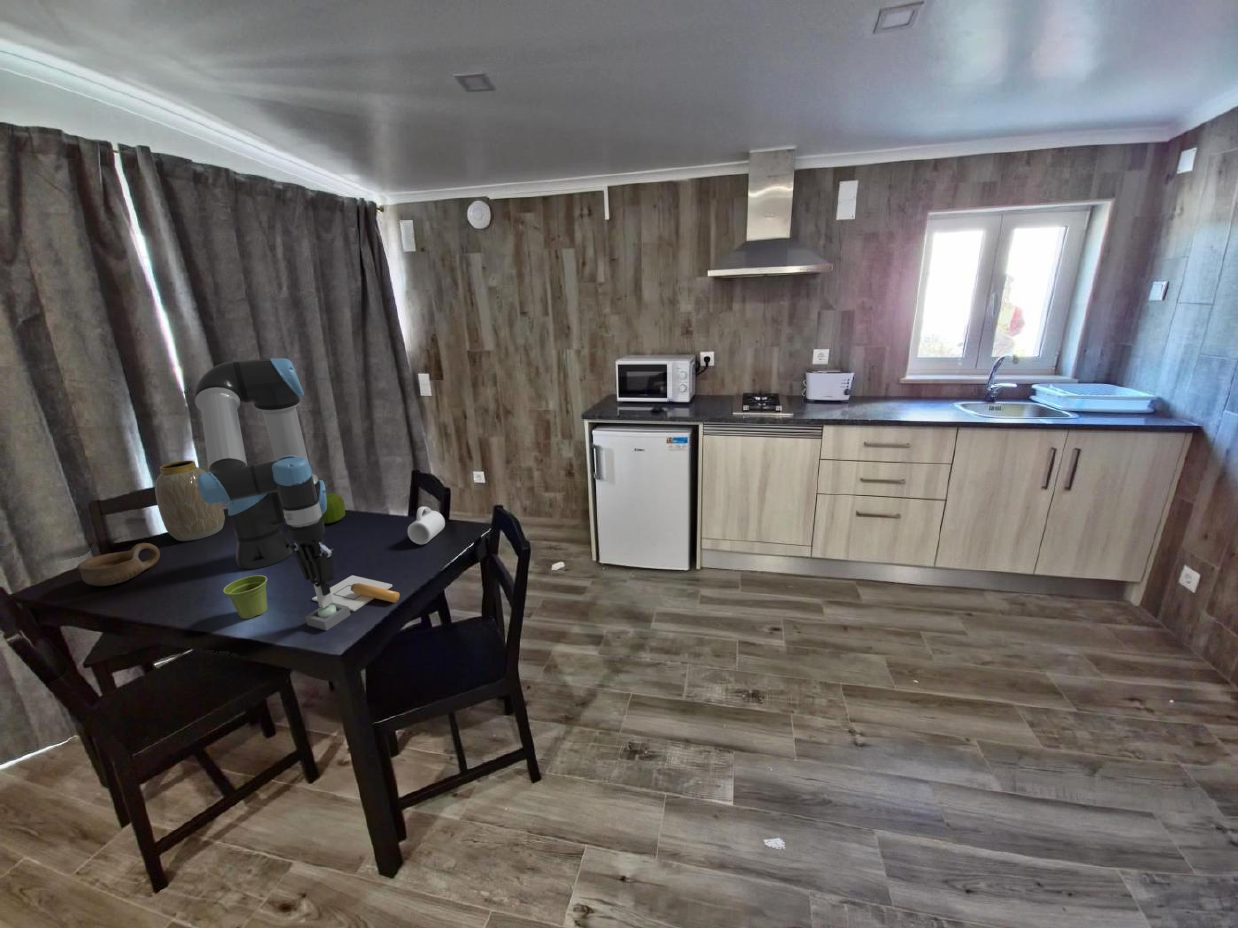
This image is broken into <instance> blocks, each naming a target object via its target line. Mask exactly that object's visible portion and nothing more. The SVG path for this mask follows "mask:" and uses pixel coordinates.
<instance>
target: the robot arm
mask: <svg viewBox="0 0 1238 928" xmlns="http://www.w3.org/2000/svg"><path fill="white" fill-rule="evenodd" d="M304 395H305V392H304V390H303V388H302V385H301V383H300V380H299V377H298V375H297V371H296V369H295V366H294V364H293V362H292V361H291V360H290V359H289V358H286V357H285V358H283V357H281V358H272V357H271V358H261V359H252V360H249V359H248V360H240V361H227V362H222V363H220V364H217V365H215V366H213V367H212V368H210V369H209V370H208V371H206V372H205V374H203V376H201V378H200V380H199V381H198V383H197V385H196V386H195V389H194V403H195V406H196V408H197V409H198V410H199V411H200V412H201V420H202V429H203V436H204V443H205V451H206V461H207V467H208V471H205V472H206V473H203V474H200V475H199V476H198V479H197V481H198V487H199V490H200V494H201V496H202V498H203V500H204V501H205V502H206V503H208V504H214V503H221V504H223V503H226V508H227V511H228V512H227V516H229V518H230V522H231V526H232V528H233V531H234V534H235V538H236V541H237V544H236V552H235V553H236V554H235V562H236V565H237V567H238V569H243V570H255V569H262V568H265V567H268V566H273V565H275V564H278V563H280V562H281V561H284V560H285V559H287V558H289V557H290V556H291V555H292V554H294V556H295V558H296V561H297V563H298V565H299V569H300V570H301V573H302V575H303V576H304V579H305V580H306V581H310V583H311V584H312V585H313V589H314V592H315V594H316V596H317V600H318V602H317V603H318V606H319V608H320V607H322V608H324V607H326V606H328V605H329V604H331V603H332V602H333V601H332V597H331V593H330V592H331V591H330V588H331V586H330V582H332V581H333V580H335V574H334V572H335V571H334V554H335V549H334V548H333V547H331V548H328V547H327V546H326V542H325V539H323V536H324V534H325V533H326V526H325V523H324V522H323V519H322V518H321V517H322V514H324V513H325V512H326V509H327V499H326V494H327V493H326V485H325V482H324V481H323V480H322V479H319V478H318V476H317V475H316V474H314V473H313V470H312V468H311V466H310V463H309V458H308V454H307V450H306V444H305V440H304V437H303V433H302V428H301V425H300V421H299V415H298V411H297V407H298V405H300V403H301V400H300V398H302V397H303V396H304ZM242 403H245V404H246V403H253V407H254V408H255V410H258V411H259V412H262V416H263V419H264V423H265V427H266V430H267V435H268V438H269V442H270V445H271V449H272V453H273V456H274V461H268V462H263V463H262V462H261V463H257V464H250V465H248V463H247V456H246V450H245V446H244V440H243V436H242V430H241V422H240V419H239V418H240V417H239V413H238V410H239V408H240V406H241V404H242ZM282 524H283V525H284V524H287V530H288V532H287V533H288V535H289V539H290V540H291V541H293V542H294V543H292V544H291V543H290V541H289V540H288V538H287V537H286V536H285V535H284V534H283V532H282V531H281V527H280V525H282Z"/></svg>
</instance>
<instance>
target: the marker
mask: <svg viewBox="0 0 1238 928" xmlns="http://www.w3.org/2000/svg"><path fill="white" fill-rule="evenodd" d="M351 591H353V592H354V593H356V594H360V595H364V596H369V597H373V598H374V599H377V600H382V601H387V602H390V603H394V604H396V603H397V602H398V601H399V599H400V592H398V591H393V590H390V589H388V590H386V589H382V588H378V587H373V586H369V585H365V584H360V583H357V584H353V585H352V586H351Z"/></svg>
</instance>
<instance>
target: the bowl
mask: <svg viewBox="0 0 1238 928" xmlns="http://www.w3.org/2000/svg"><path fill="white" fill-rule="evenodd" d="M143 550H150V552H151V555H150V557H149V558H148V559H147V560H145V561H142V560H141V559H140V558H139V554H140V552H141V551H143ZM160 556H161V553H160V550H159V548H158V547H157V546H156V545H154V544H152V543H149V542H148V543H146V542H142V543H137V544H135V545H134V546H133V547H132V548H131V549H129V550H127V551H120V552H118V551H117V552H113V553H112V552H110V553H105V554H100V555H97V556H92V557H90V558H87V559H85V560H83V561H82V562H80V563H78V564H77V566H76V567H77V570H79V572H80V575H81V579H82V581H83V582H84V583H86V584H87V585H89V586H95V587H107V586H113V585H116V584H117V583H118V584H122V583H124V582H127V581H130V580H129V579H131V578H132V579H134V578H135V577H137V576H138V575H140V574H141V573H142V572H144V571H146V570H147V569H149V568H152V567H153V566H154V565H156V563H158V561H159V559H160ZM133 577H134V578H133ZM132 579H131V580H132ZM118 584H117V585H118Z"/></svg>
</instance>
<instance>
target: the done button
mask: <svg viewBox="0 0 1238 928" xmlns="http://www.w3.org/2000/svg"><path fill="white" fill-rule="evenodd" d="M319 608H320V607H319ZM319 608H318V609H319ZM336 612H337V611H336V607H335V605H328V606H326V607H324V608H320V609H319V610H318V615H319V617H320V618H323V619H326V618H328V617H329V616H331V615H333V614H334V613H336Z"/></svg>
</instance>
